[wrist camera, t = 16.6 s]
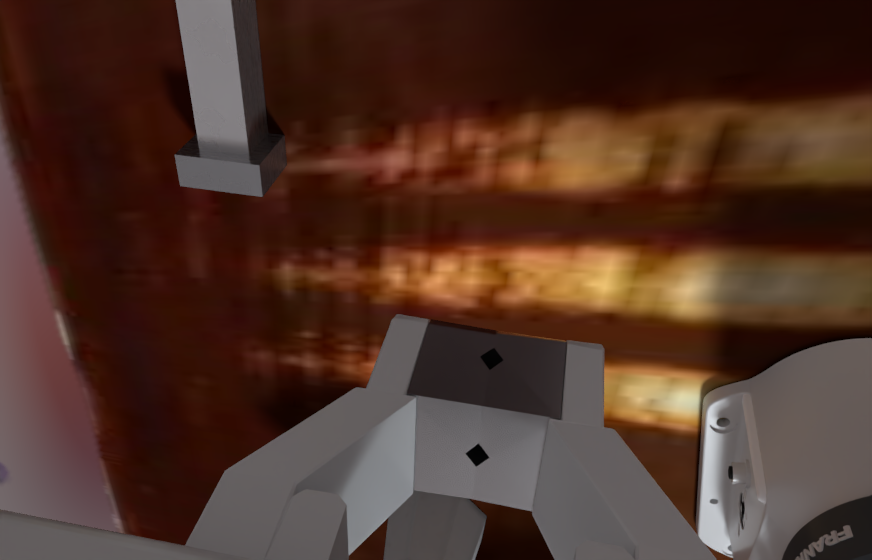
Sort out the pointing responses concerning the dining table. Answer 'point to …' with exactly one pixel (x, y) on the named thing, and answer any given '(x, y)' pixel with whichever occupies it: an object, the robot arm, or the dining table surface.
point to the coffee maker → (434, 528)
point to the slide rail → (226, 101)
